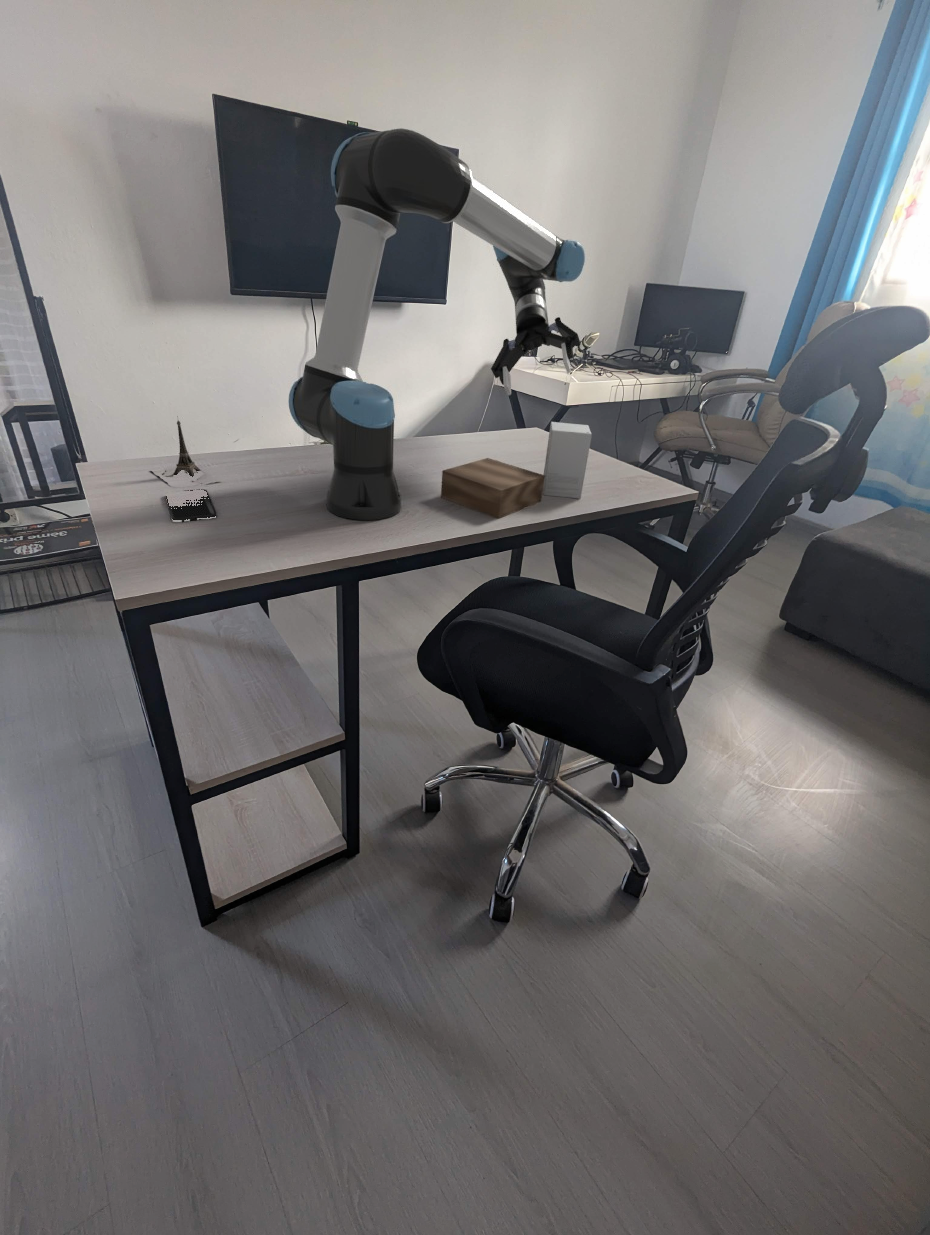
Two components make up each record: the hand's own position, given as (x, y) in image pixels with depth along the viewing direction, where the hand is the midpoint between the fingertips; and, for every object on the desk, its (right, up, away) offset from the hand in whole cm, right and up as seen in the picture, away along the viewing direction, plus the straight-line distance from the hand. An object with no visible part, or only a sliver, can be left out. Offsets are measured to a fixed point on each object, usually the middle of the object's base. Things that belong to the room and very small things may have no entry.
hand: (536, 379), depth 126 cm
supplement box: (+7, -22, +13) cm, 26 cm away
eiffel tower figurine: (-77, -21, +2) cm, 80 cm away
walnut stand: (-10, -25, +4) cm, 27 cm away
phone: (-69, -30, -12) cm, 76 cm away
